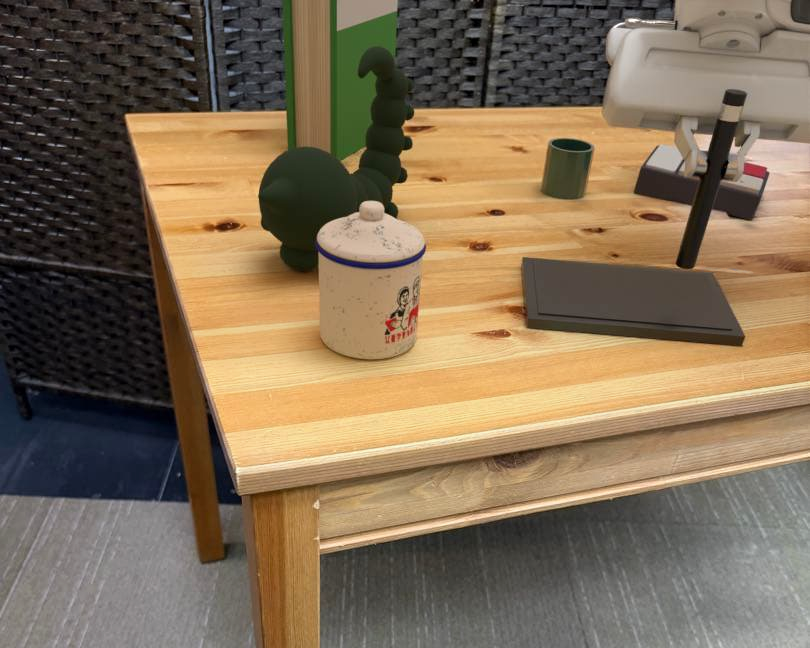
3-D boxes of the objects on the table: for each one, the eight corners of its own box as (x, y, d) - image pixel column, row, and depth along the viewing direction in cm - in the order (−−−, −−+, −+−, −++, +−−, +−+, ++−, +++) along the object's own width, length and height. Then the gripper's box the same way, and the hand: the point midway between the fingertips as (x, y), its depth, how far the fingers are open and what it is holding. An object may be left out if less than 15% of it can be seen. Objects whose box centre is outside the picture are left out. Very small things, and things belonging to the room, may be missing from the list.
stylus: (692, 262, 78) (744, 89, 68) (696, 270, 77) (750, 95, 67) (673, 260, 79) (723, 88, 69) (676, 268, 77) (727, 93, 67)
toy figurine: (354, 221, 97) (220, 275, 79) (364, 36, 86) (211, 49, 67) (423, 239, 94) (301, 300, 76) (444, 50, 83) (306, 68, 64)
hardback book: (336, 162, 108) (336, -62, 92) (287, 152, 110) (279, -69, 94) (392, 130, 120) (400, -73, 104) (347, 121, 122) (349, -79, 106)
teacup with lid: (403, 371, 68) (411, 233, 61) (301, 351, 70) (297, 214, 62) (438, 310, 77) (449, 183, 69) (347, 294, 79) (348, 167, 71)
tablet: (710, 281, 86) (713, 271, 85) (742, 346, 75) (746, 335, 74) (521, 265, 86) (522, 255, 85) (526, 327, 76) (528, 316, 75)
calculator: (764, 190, 97) (642, 160, 101) (750, 225, 100) (632, 195, 104) (772, 165, 105) (658, 138, 108) (759, 199, 108) (649, 171, 111)
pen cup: (582, 189, 105) (592, 139, 101) (586, 204, 101) (596, 153, 97) (539, 186, 105) (547, 136, 101) (541, 201, 101) (549, 149, 97)
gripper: (617, -9, 70) (604, 147, 69) (856, 11, 69) (846, 168, 68) (600, 40, 76) (588, 184, 75) (819, 59, 76) (810, 203, 75)
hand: (713, 176), depth 72 cm, fingers closed on stylus, 2 cm apart
